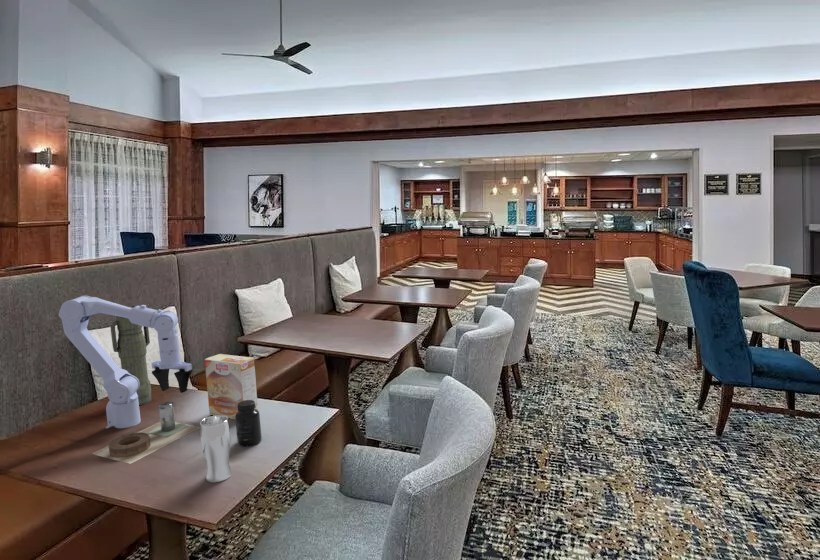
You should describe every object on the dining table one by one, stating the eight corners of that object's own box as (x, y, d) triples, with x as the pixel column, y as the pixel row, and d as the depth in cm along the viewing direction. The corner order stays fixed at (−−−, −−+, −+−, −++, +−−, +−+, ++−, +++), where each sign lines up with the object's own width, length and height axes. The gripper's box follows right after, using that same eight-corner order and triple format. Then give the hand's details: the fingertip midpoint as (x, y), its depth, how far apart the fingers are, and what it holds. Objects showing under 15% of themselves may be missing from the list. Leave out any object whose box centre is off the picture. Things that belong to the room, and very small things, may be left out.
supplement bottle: (242, 436, 149) (239, 398, 147) (264, 436, 148) (262, 398, 147) (233, 447, 142) (230, 407, 140) (257, 447, 142) (254, 407, 140)
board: (91, 457, 139) (89, 445, 138) (164, 422, 160) (163, 412, 160) (130, 467, 132) (129, 455, 132) (201, 430, 154) (200, 419, 153)
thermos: (161, 398, 182) (151, 304, 177) (128, 409, 172) (117, 311, 167) (147, 394, 187) (137, 303, 182) (115, 405, 177) (103, 309, 172)
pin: (158, 430, 151) (155, 405, 150) (169, 425, 155) (166, 401, 154) (167, 432, 150) (164, 407, 149) (178, 427, 153) (176, 402, 152)
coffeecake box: (208, 415, 165) (203, 359, 162) (224, 407, 171) (219, 353, 169) (244, 421, 159) (239, 363, 156) (259, 413, 166) (254, 356, 163)
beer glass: (209, 470, 129) (204, 415, 127) (236, 468, 130) (231, 413, 128) (200, 484, 123) (194, 427, 121) (229, 482, 123) (224, 425, 121)
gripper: (141, 352, 156) (147, 393, 158) (177, 354, 151) (182, 397, 153) (159, 346, 163) (164, 385, 165) (194, 348, 158) (199, 389, 160)
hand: (174, 390), depth 160 cm, fingers open, 7 cm apart
